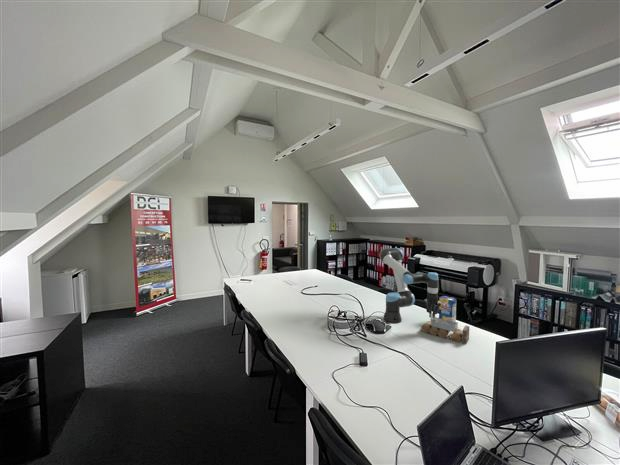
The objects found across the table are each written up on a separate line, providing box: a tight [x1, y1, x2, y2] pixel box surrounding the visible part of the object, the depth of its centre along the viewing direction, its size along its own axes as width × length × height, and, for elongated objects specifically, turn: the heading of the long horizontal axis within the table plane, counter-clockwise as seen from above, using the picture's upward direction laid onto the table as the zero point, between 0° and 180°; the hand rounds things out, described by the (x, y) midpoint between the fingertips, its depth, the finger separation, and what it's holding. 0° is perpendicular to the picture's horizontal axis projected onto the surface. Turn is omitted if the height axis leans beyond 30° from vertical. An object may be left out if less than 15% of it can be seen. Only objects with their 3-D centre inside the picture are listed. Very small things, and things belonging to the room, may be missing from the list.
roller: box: [450, 328, 463, 343], centre depth 186 cm, size 11×6×6 cm
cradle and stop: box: [446, 325, 470, 345], centre depth 185 cm, size 12×10×10 cm
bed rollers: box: [421, 320, 451, 339], centre depth 196 cm, size 11×18×6 cm, turn 48°
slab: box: [430, 316, 459, 333], centre depth 191 cm, size 16×10×4 cm, turn 48°
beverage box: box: [438, 295, 457, 322], centre depth 213 cm, size 7×11×22 cm, turn 36°
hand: (432, 321), depth 197 cm, fingers closed
